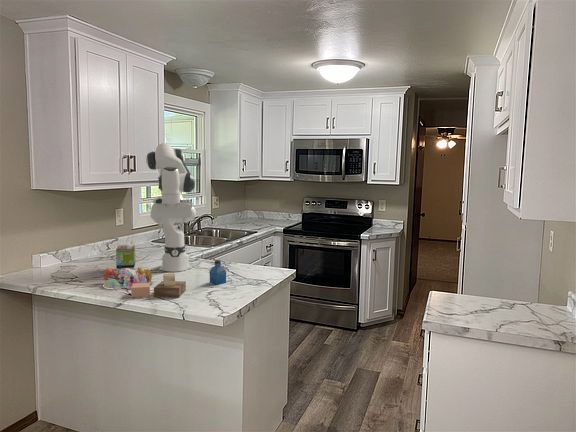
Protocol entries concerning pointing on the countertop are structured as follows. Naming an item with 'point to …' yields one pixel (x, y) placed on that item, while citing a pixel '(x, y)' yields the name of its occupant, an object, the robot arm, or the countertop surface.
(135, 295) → the terracotta block
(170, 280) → the maple cube
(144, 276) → the candy landscape model
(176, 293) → the walnut block
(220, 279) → the perfume bottle
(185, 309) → the countertop surface
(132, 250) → the tea box
